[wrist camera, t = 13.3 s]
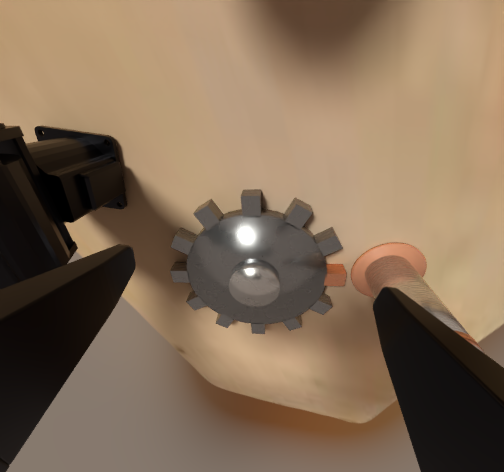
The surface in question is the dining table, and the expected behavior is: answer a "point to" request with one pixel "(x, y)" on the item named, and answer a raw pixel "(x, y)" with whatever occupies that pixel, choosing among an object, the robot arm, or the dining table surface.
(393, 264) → the pin
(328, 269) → the sprocket
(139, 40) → the dining table surface
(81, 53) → the dining table surface
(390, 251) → the seat pad
